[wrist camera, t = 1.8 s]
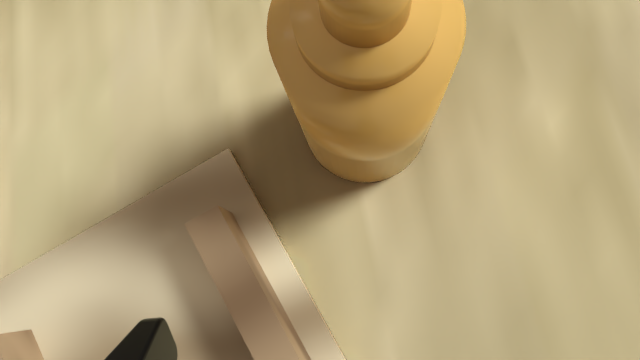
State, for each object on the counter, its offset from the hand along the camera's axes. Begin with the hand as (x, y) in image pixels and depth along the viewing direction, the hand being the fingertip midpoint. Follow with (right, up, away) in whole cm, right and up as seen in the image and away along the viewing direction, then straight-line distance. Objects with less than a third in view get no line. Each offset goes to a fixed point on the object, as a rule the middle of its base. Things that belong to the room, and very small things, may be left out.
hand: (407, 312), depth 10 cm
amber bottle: (0, +5, +15) cm, 15 cm away
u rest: (-8, -6, +13) cm, 17 cm away
